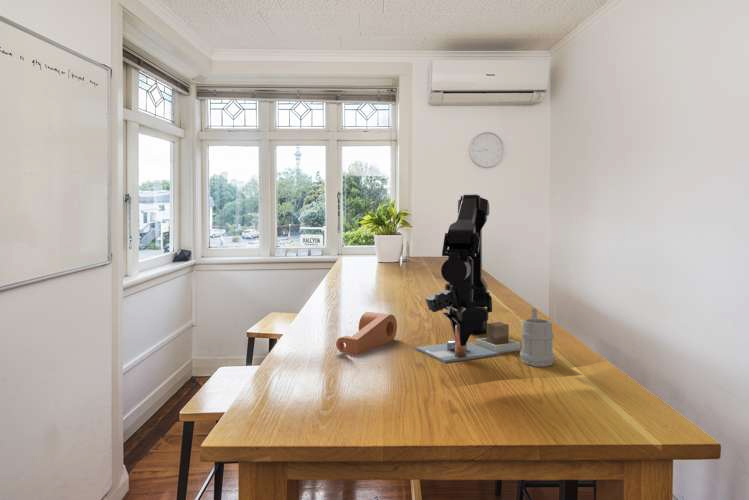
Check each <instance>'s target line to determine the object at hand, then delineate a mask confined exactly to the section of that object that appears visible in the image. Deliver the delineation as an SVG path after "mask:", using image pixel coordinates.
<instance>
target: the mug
mask: <svg viewBox="0 0 749 500" xmlns="http://www.w3.org/2000/svg"><path fill="white" fill-rule="evenodd" d="M530 316H531V317H530V318H525V319H523V320H522V321H523V322H522V331H521V337H522V339H521V340H522V341H521V349H520V350H519V357H520V360H521V362H522V363H523V364H525V365H528V366H531V367H532V366H533V367H541V368H543V367H549V366H552V365H553V363H554V360H555V353H554V351H553V349H554V347H553V339H554V332H553V322H552V321H551V320H550V319H549V320H548V319H543V318H538V309H537V307H531V315H530Z"/></svg>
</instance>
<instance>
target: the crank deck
mask: <svg viewBox="0 0 749 500" xmlns="http://www.w3.org/2000/svg"><path fill="white" fill-rule="evenodd" d="M414 347H415V349H414V350H416V351H418V352H419V353H422V354H424V355H427V356H429V357H432V358H433V359H435V360H438V361H440V362H442V363H451V362H459V361H460V362H461V361H465V360H466V361H467V360H474V359H481V358H487V357H494V356H495V357H496V356H499V353H497V352H494V351H492V350H489V349H486V348H483V347H480V346H477V345H475V343H471V342H468V341H467V350H466V356H465V357H457V356H455V351H451V350H448V349H447V343H440V344H431V345H423V346H414Z"/></svg>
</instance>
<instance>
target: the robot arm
mask: <svg viewBox="0 0 749 500" xmlns="http://www.w3.org/2000/svg"><path fill="white" fill-rule="evenodd" d="M488 216H490V203H489V200H488V199H486V198H484V197H481V195H479V194H475V193H474V194H463V195H460V199H458V201H457V219H456V220H455V222H453V223H451V224H450V225H449V227H448V229H447V232H445V234H444V238H443V246H442V252H441V256H442V257H447V258H448V259H446V260H445V261H444V262H443V264H442V266H441V269H440V273H441V276H442V278H443V279H444V281H446V282H447V283H445V285H444V286H445V287H444V289H443V290H440V291H438V292H435V293H433V294H430V295H428V296H426V297H425V298H424V299H425V301H426V302H425V303H426V305H427V308H428V311H431V312H432V313H436V312H437V313H438V312H440V311H443V310H444V309H445V312H442V314H443V316H445V317H446V318H447V319H448V320H449V321H450V324H451V329H452V332H453V336H454V338H455V324H458V332H459V340H460V345H461V346H465V345H466V343H467V342H468V341H469V339H470V336H471V335H472V334H480V333H481V334H482V333H487V323H488V321H489V314H490V313H492V312H493V297H492V296H491V294H490V293H491V292H488V291H489V289H488V284H487V283H486V281H485V280H484V278H483V247H482V246H483V241H482V239H483V237H482V236H483V235H482V234H483V232H482V230H483V228H484V226H485V224H486V223H487V221H488Z"/></svg>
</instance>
